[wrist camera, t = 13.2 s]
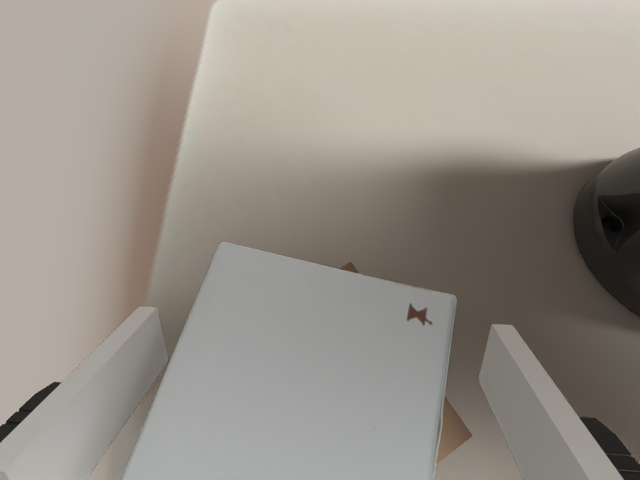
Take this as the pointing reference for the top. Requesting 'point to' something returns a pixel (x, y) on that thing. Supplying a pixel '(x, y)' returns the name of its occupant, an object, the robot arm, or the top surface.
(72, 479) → the robot arm
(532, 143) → the top surface
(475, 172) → the top surface
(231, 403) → the supplement box
